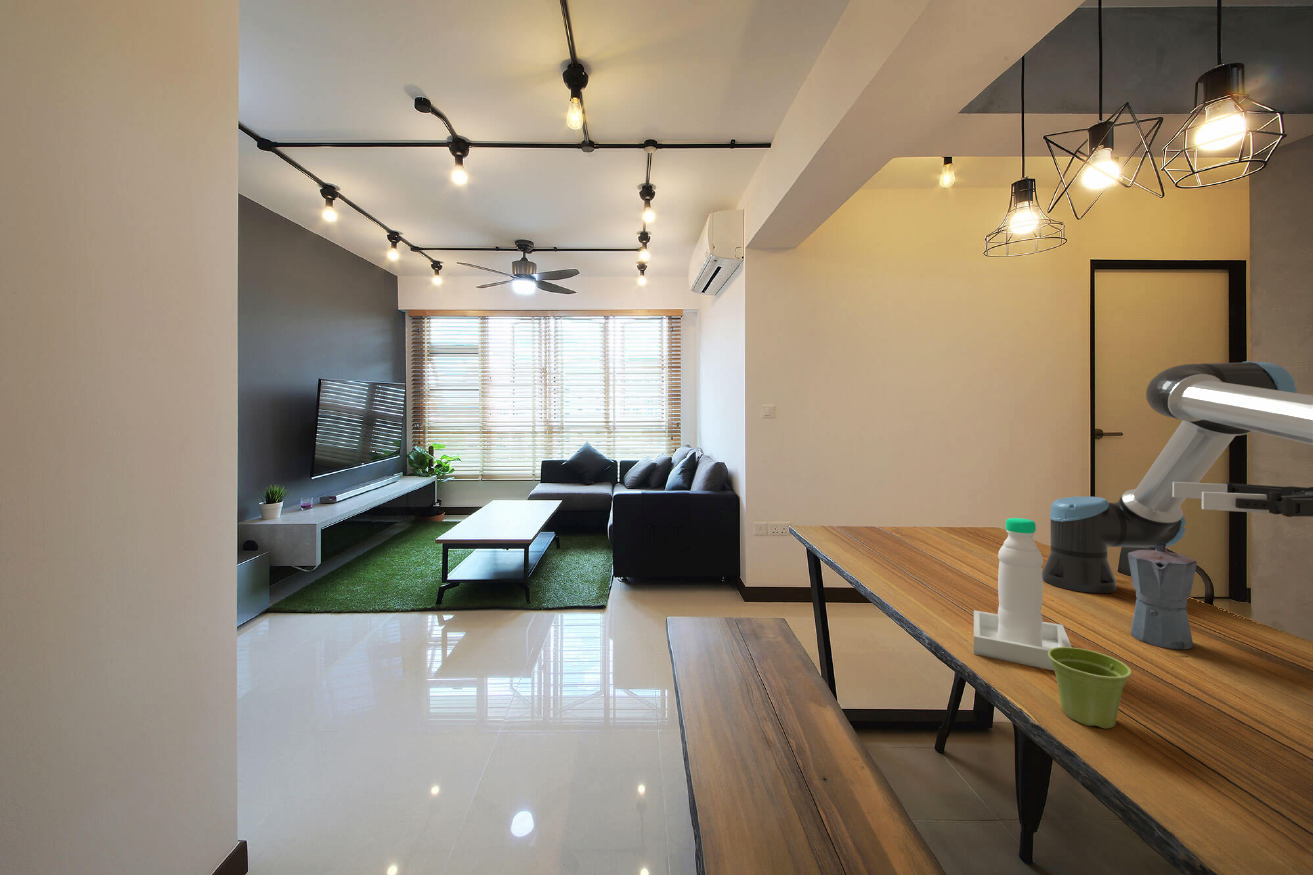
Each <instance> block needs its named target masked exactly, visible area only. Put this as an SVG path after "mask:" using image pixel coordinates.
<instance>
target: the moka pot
mask: <svg viewBox="0 0 1313 875" xmlns="http://www.w3.org/2000/svg"><path fill="white" fill-rule="evenodd" d="M1155 545H1156V548H1154V549H1151V550H1150V549H1137V550H1134V551H1129V552H1128V553H1127V559H1128V566H1129V571H1130V576H1131V582H1132V587H1133V589H1134V591H1135V597H1136V599H1135V606H1134V610H1133V615H1132V616H1133V617H1132V622H1131V626H1130V627H1131V628H1130V635H1131V636H1133V638H1136V639H1137V640H1139V641H1140V642H1142V643H1146V644H1148V645H1151V646H1155V647H1159V648H1163V649H1164V648H1165V649H1171V650H1189V649H1192V648H1193V647H1194V641H1193V637H1192V636H1193V635H1192V632H1191V626H1190V620H1189V616H1188V611H1187V606H1188V599H1189V598H1191V593H1192V589H1193V583H1194V579H1195V578H1194V577H1195V574H1196V568H1197V561H1196V560H1195V559H1193V558H1191V557H1189V556H1186V555H1185V554H1181V553H1175V552H1171V551H1168V548H1167V547H1166V544H1163V543H1155ZM1166 548H1167V549H1166Z"/></svg>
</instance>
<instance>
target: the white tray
mask: <svg viewBox="0 0 1313 875" xmlns="http://www.w3.org/2000/svg"><path fill="white" fill-rule="evenodd" d="M998 624H999V620H998V613H993V612H986V611H980V610H973V655H977V656H980V657H986V658H992V659H995V660H1001V661H1004V662H1009V663H1015V664H1021V665H1026V666H1029V667H1035V668H1038V669H1044V670H1048V671H1049V670H1050V671H1053V672H1055V669H1054V667H1053V665H1052V661H1051V659H1050V658H1049V656H1048V651H1049V650H1050V649H1052V648H1056V647H1073V646H1072V643H1071V642H1070V639H1069V637H1068V635H1067V632H1066V630H1065V628H1064V625H1063V624H1059V623H1053V622H1048V621H1047V622H1046V621H1042V628H1041V633H1042V647H1038V646H1033V645H1028V644H1023V643H1017V642H1012V641H1007V640H1001V639H998Z"/></svg>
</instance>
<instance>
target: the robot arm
mask: <svg viewBox="0 0 1313 875" xmlns="http://www.w3.org/2000/svg"><path fill="white" fill-rule="evenodd" d="M1295 382H1296V381H1295V379H1294V377H1293V375H1292V374H1291V373H1290V371H1289V370H1287V369H1286V368H1284V367H1283V366H1281V365H1278V364H1277V363H1273V362H1269V361H1267V362H1265V361H1252V360H1251V361H1250V360H1246V361H1242V362H1219V363H1218V362H1216V363H1215V362H1214V363H1211V362H1210V363H1187V364H1181V365H1179V364H1178V365H1176V366H1172V367H1169V368H1167V369H1165V370H1163V371H1160V372H1159V373H1158V374H1157V375H1155V376H1154V377H1153V378H1152V379H1151V380H1150V382H1149V383H1148V385H1147V388H1146V390H1145V391H1146V392H1145V396H1146V397H1145V398H1146V401H1147V403H1148V406H1150V408H1151V409H1152V410H1153V411H1155V412H1157V413H1158V414H1160V415H1161V416H1165V417H1169V418H1173V419H1176V420H1181V423H1180V424H1179V425H1178V427H1177V428H1176V430H1175V431H1174V433H1173V434H1172V435H1171V437H1170V438H1169V440H1168V442H1167V443H1166V444H1165V446H1164V447H1163V448H1162V451H1160V453H1159V455H1158V456H1157V457H1156V459H1155V460H1154V462H1153V463H1152V465H1151V466H1150V467H1149V469H1148V471H1147V472H1146V473H1145V475H1144V476H1143V478H1142V479H1141V481H1140V482H1139V483H1138V485H1137V487H1136V488H1132V489H1127V490H1126V491H1124V492H1123V493H1122V495H1121V497H1120V498H1119V500H1118V501H1117V502H1108V499H1106V498H1104V497H1100V496H1099V497H1098V496H1083V495H1082V496H1068V497H1067V496H1066V497H1061V498H1058V499H1056V500H1054V501H1053V502H1052V503H1051V506H1050V507H1051V508H1050V513H1049V518H1050V552H1049V554H1048V557H1047V559H1046V561H1045V564H1044V567H1043V568H1042V578H1043V581H1044V582H1045V583H1047V584H1050V585H1051V586H1055V587H1059V588H1062V589H1065V590H1070V591H1075V592H1081V593H1091V594H1092V593H1093V594H1110V593H1115V592H1116V591H1117V580H1116V578H1115V575H1114V572H1113V569H1112V568H1111V565H1110V563H1109V560H1108V552H1109V551H1108V548H1110V547H1111V548H1112V547H1114V548H1140V549H1141V548H1142V549H1156V545H1155V543H1163V544H1166V547H1165V548H1168V547H1171V546H1173V545H1176V544H1178V542H1180V541H1181V540H1182V538H1183V537H1184V535H1185V534H1186V528H1185V527H1184V526H1186V525H1187V523H1186V518H1185V515H1184V511H1183V509H1182V507H1181V506H1182V504H1183V503H1184V502H1185V501H1186V500H1187V499H1201V509H1202V510H1209V511H1226V512H1239V513H1240V512H1242V513H1243V512H1245V513H1261V514H1267V511H1268V513H1269V514H1272V515H1282V516H1284V517H1287V518H1292V517H1313V486H1310V487H1306V486H1295V485H1293V486H1292V485H1290V486H1280V485H1279V486H1276V485H1264V484H1263V485H1262V484H1248V483H1234V482H1226V483H1209V482H1208V483H1207V482H1205V483H1203V482H1201V480H1203V478H1204V476H1205V475H1206V474H1207V472H1208V471H1209V470H1210V469H1211V468H1212V466H1213V465H1214V464H1215V463H1216V461H1217V460H1219V458H1220V456H1221V455H1222V454H1223V452H1224V451H1225V450H1226V449H1227V447H1228V446H1229V445H1230V444H1231V442H1232V441H1233V440H1234V438H1235V437H1236V436H1244V435H1247V434H1250V433H1251V432H1255V433H1259V434H1262V435H1268V436H1271V437H1276V438H1282V439H1284V440H1289V441H1292V442H1293V441H1294V442H1298V443H1302V444H1307V445H1310V446H1313V395H1312V394H1304V393H1298V388H1297V386H1296V383H1295Z"/></svg>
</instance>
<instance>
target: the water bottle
mask: <svg viewBox="0 0 1313 875" xmlns="http://www.w3.org/2000/svg"><path fill="white" fill-rule="evenodd" d="M1036 526H1037V524H1036V522H1035V521H1034V520H1032V519H1028V518H1024V517H1023V518H1020V517H1010V518H1009V517H1008V518H1007V519H1006V520H1005V529H1006V533H1007V538H1006V539H1005V540H1004V541H1003V545H1002V546H1001V547H1000V549H999V550H998V554H997V557H998V560H999V562H998V563H999V564H998V570H997V571H998V572H997V573H998V575H997V576H998V577H997V592H998V595H997V596H998V604H999V605H998V608H997V614H998V620H999V624H998V639H1001V640H1007V641H1012V642H1017V643H1023V644H1028V645H1033V646H1038V647H1042V633H1041V628H1042V622H1043V614H1042V606H1043V595H1044V594H1043V592H1044V590H1043V589H1044V588H1043V584H1044V583H1043V581H1044V580H1043V578H1042V571H1043V568H1042V565H1043V563H1044V558H1043V554H1042V553H1041V551H1040V549H1038V545H1037V543H1036V542H1035V540H1034V538H1033V536H1034V535H1036V533H1035V532H1037V531H1036V530H1037V527H1036Z"/></svg>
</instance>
